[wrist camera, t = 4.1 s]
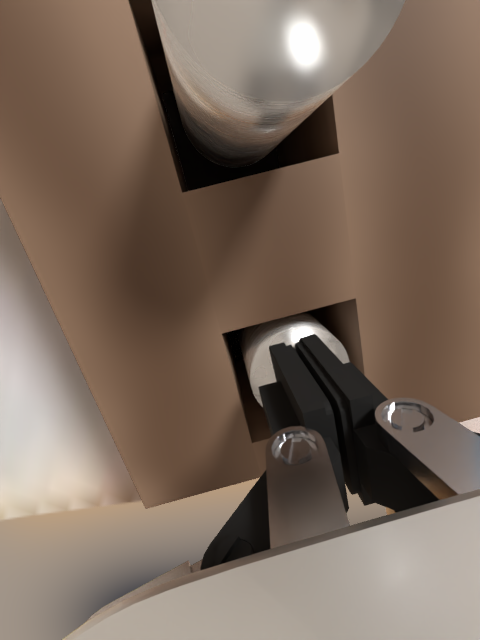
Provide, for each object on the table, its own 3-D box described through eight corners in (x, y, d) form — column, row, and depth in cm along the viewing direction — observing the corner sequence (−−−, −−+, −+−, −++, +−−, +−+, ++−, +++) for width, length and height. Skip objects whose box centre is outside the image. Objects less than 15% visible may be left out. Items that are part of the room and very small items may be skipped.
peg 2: (290, 276, 17) (343, 315, 11) (300, 335, 18) (354, 403, 12) (226, 293, 17) (239, 343, 11) (241, 351, 18) (262, 429, 12)
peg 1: (275, 29, 10) (416, -335, 3) (295, 154, 11) (427, 68, 5) (164, 56, 10) (83, -263, 3) (196, 178, 11) (184, 128, 4)
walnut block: (360, -4, 14) (507, -210, 7) (388, 346, 19) (484, 415, 13) (40, 73, 13) (-123, -67, 7) (166, 405, 19) (145, 508, 12)
